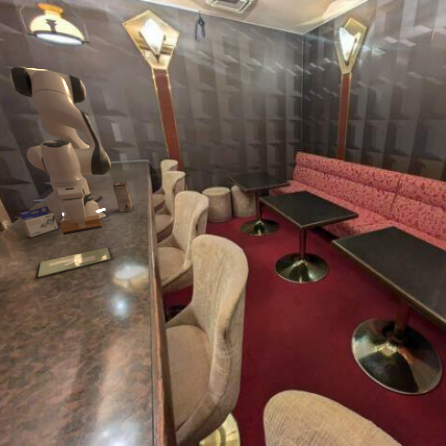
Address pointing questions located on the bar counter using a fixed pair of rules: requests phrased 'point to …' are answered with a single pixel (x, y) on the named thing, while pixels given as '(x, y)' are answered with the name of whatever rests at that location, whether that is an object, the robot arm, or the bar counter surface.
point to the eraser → (73, 227)
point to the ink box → (38, 221)
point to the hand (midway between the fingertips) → (82, 225)
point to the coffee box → (122, 196)
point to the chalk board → (73, 262)
